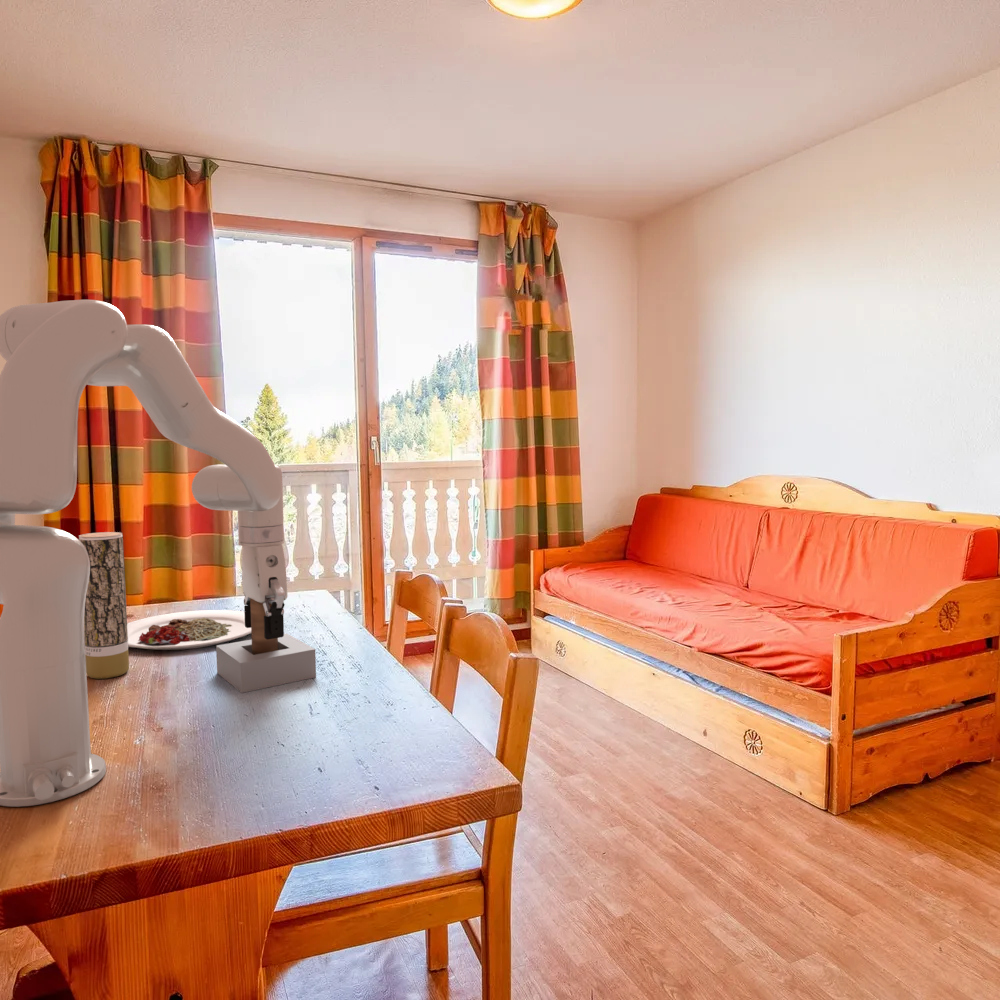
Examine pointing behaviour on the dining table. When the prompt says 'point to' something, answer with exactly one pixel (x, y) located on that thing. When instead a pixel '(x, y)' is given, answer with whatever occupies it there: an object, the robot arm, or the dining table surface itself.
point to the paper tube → (105, 606)
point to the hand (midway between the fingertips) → (263, 632)
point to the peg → (260, 630)
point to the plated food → (187, 629)
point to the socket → (265, 664)
